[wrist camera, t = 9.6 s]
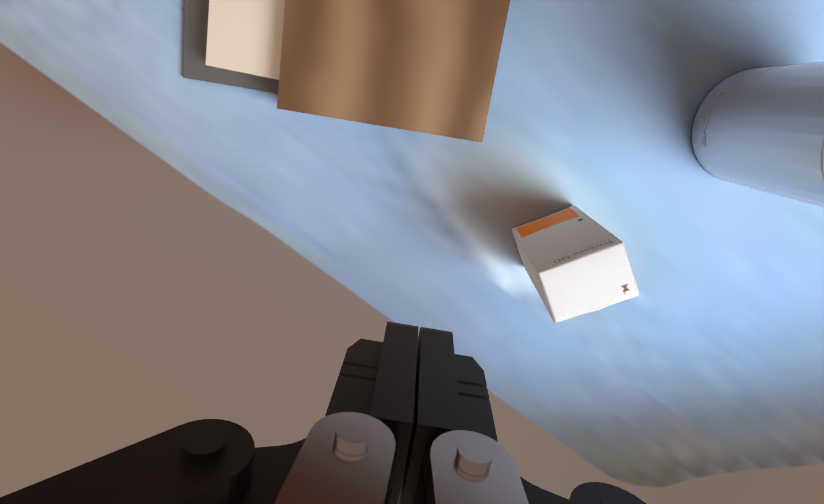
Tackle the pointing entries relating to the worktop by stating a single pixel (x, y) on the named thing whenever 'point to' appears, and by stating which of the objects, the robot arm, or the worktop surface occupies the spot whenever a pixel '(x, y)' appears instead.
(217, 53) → the cream rectangular block
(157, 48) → the worktop surface
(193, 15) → the mat
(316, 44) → the brown flat block
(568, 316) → the skincare box
